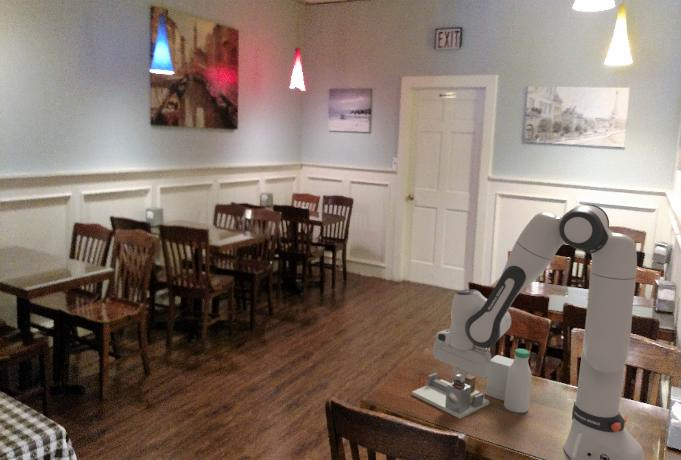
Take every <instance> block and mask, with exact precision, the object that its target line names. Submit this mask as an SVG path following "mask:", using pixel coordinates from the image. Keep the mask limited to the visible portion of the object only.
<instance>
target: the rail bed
mask: <svg viewBox="0 0 681 460" xmlns="http://www.w3.org/2000/svg"><path fill="white" fill-rule="evenodd" d="M438 376H439V375H438V372H434V373H431V374H428V376H427V384H426V385H425V386H422V387H420V388H417V389H414V390H413V391H411V392H412V393H411V395H412V396H414V397H416V398H418V399H419V400H422V401H424V402H425V403H428V404H429V405H432V406H433V407H436V408H438V409H439V410H442V411H444V412H445V413H448V414H449V415H451V416H454V417H456V418H457V419H460V420H461V419H463V418H465V417H466V416H469V415H471V414H472V413H474V412H476V411H478V410H480V409H482V408H484V407H487V406H488V405H489V404H490V400H489V399H487V398H485V397H484V393H482V392H480V394H478V395H475V396H474V398H473V403H472V405H469V409H468V410H466V411H464V412H462V413H460V414H458V413H456V412H454V411H452V410H450V409H448V408H446V407H445V405H446V393H447V385H448V384H450V383H451V382H449V381H447V380H445V379H442V378H441V379H438Z"/></svg>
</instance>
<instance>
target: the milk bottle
mask: <svg viewBox="0 0 681 460" xmlns="http://www.w3.org/2000/svg"><path fill="white" fill-rule="evenodd" d="M513 356H514V358H513V359H514V361H513V363H512V365H511V366H510V368H509V370H508V374H507V382H506V391H505V400H504V401H503V402H504V404H503V405H504V408H505V409H506V410H508V411H510V412H512V413H516V414H524V413H527V412H528V411H529V408H530V407H529V406H530V398H531V390H532V378H533V376H532V371H531V367H530V365H529V359H530V351H529V350H528V349H525V348H516V349H515V350H514V355H513Z"/></svg>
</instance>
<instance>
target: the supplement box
mask: <svg viewBox="0 0 681 460" xmlns="http://www.w3.org/2000/svg"><path fill="white" fill-rule="evenodd" d="M514 359H515V358H509V357H506V356H502V355H498V354H496V355H494V356H493V357H491V374H490V375H489V376H488V377H486V387H485V395H486V396H488V397H492V398H495V399H497V400H501V401H503V402H504V400H505V391H506V382H507V374H508V370H509V368H510V366H511V365H512V363H513V361H514Z"/></svg>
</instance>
